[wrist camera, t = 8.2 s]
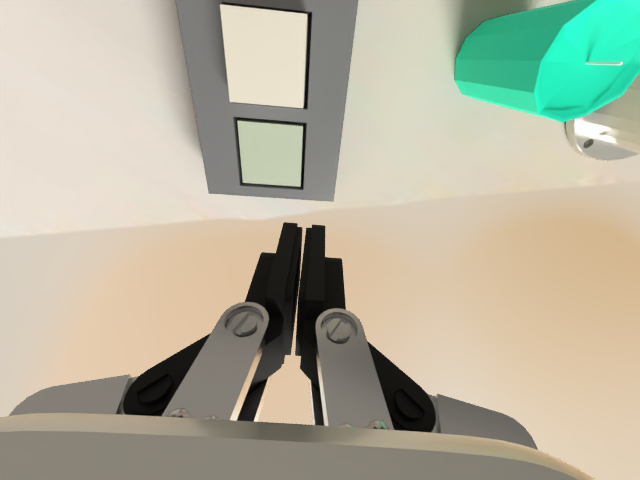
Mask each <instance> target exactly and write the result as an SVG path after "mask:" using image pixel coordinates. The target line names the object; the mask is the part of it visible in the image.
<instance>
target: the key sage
mask: <svg viewBox="0 0 640 480" xmlns="http://www.w3.org/2000/svg"><path fill="white" fill-rule="evenodd" d="M237 123H238V134H239V146H240V157H241V168H242V179H243V183H254V184H268V185H283V186H297V187H300V186H301V177H302V157H303V134H304V123H302V122H290V121H278V120H266V119H254V118H242V117H241V118H240V119H239V120H238V121H237Z"/></svg>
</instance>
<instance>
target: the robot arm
mask: <svg viewBox="0 0 640 480" xmlns="http://www.w3.org/2000/svg"><path fill="white" fill-rule="evenodd" d="M566 133H567V138H568V140H569V142H570V144H571V146H572V147H573V148H574V149H575V150H576V151H577V152H578V153H580V154H582V155H584V156H586V157H589V158H593V159H596V160H602V161H613V160H621V159H625V158H629V157H633V156H635V155H638V154H640V73H639V74H638V75H637V77H636V78H635V79H634V81H633V82H632V83H631V85H630V86H629V87H628V88H627V90H626V91H625V92H624V94H623V95H622V96H620V97H619V98H617V99H615V100H613V101H611V102H610V103H608V104H606V105H604V106H602V107H601V108H599V109H597V110H595V111H593V112H592V113H590V114H588V115H585V116H582V117H579V118H575V119H572V120H569V121H566ZM301 245H302V227H297V223H284V224H283V228H282V231H281V236H280V239H279V243H278V247H277V251H276V253H263V252H262V253H261V255H260V258H259V261H258V264H257V267H256V270H255V273H254V276H253V279H252V282H251V285H250V288H249V291H248V294H247V297H246V300H245V302H243V303H238V304H236V305H233V306H231V307H230V308H229V309H227V310H226V311H225V312H224V314H223V315H222V316H221V317H220V319H219V321H218V322H217V324H216V326H215V328H214V329H213V331H212V332H211V333H210V334H209V335H207V336H205V337H203V338H202V339H200V340H198V341H197V342H195V343H193V344H191V345H190V346H188V347H186V348H184V349H183V350H181V351H179V352H178V353H176V354H174V355H173V356H171V357H169V358H167V359H166V360H164V361H162V362H161V363H159V364H157V365H155V366H154V367H152V368H150V369H148V370H147V371H146V372H144V373H143V374H141V375H140V376H139V377H133V378H132V377H131V376H130V375H124V376H117V377H111V378H105V379H98V380H92V381H85V382H79V383H73V384H66V385H60V386H53V387H50V388H46V389H43V390H40V391H39V392H37V393H35V394H33V395H31V396H29V397H28V398H26V399H25V400H24V401H23V402H21V403H20V404H19V405H18V406H16V408H15V409H14V410H13V411H12V412H11V414H10V415H9V416H7V417H1V418H0V480H596V479H595V478H593V477H591V476H590V475H588V474H587V473H585V472H583V471H582V470H580V469H578V468H576V467H574V466H572V465H570V464H568V463H566V462H564V461H563V460H561V459H559V458H556V457H554V456H551V455H549V454H547V453H544V452H542V451H539V450H538V449H537V447H536V444H535V443H534V441H533V438H532V437H531V435H530V434H529V433H528V432H527V430H526V429H525V428H524V427H523V426H522V425H521V424H520V423H518V422H517V421H516V420H515V419H513V418H511V417H509V416H507V415H505V414H502V413H499V412H496V411H492V410H489V409H486V408H483V407H479V406H475V405H473V404H469V403H466V402H463V401H459V400H456V399H453V398H449V397H446V396H443V395H440V394H437V395H436V396H432V395H428V394H427V393H426V392H425V391H424V390H423V389H422V388H421V387H420V386H419V385H418V384H416V383H415V382H414V381H413V380H412V379H411V378H410V377H408V376H407V375H406V374H405V373H404V372H403V371H401V370H400V369H399V368H398V367H397V366H396V365H394V364H393V363H392V362H391V361H390V360H389V359H387V358H386V357H385V356H384V355H383V354H382V353H380V352H379V351H378V350H377V349H376V348H375V347H373V346H372V345H371V344H370V343H369V342H368V341H367V339H366V336H365V333H364V329H363V326H362V324H361V322H360V320H359V319H358V318H357V317H356V316H355V315H354V314H353V313H351V312H350V311H347V310H346V307H345V294H344V281H343V268H342V267H343V266H342V259H340V258H327V257H325V226H322V225H312V228H306V236H305V244H304V253H303V262H302V270H301V278H300V264H301ZM299 281H300V287H299ZM298 290H299V296H298ZM297 298H298V311H297V312H298V313H297V332H296V351H295V355H296V356H301V365H300V369H301V370H302V371H303V372H304V373H305V374H306V376H307V377H308V378H309V386H310V398H311V409H312V420H313V425H302V424H284V423H268V422H257V421H258V418H259V415H260V412H261V409H262V406H263V402H264V399H265V396H266V393H267V390H268V387H269V384H270V380H271V375H272V374H273V373H275V372H276V371H277V370H278V369H280V368H281V366H282V364H284V357H285V355H291V347H292V340H293V331H294V323H295V314H296V305H297Z"/></svg>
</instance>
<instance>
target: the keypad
mask: <svg viewBox="0 0 640 480" xmlns="http://www.w3.org/2000/svg"><path fill="white" fill-rule="evenodd" d="M220 4H222V5H231V6H240V7H249V8H258V9H267V10H276V11H285V12H294V13H303V14H307V16H308V33H307V56H306V79H305V102H304V107H303V108H293V107H282V106H271V105H259V104H248V103H236V102H230V100H229V90H228V80H227V70H226V60H225V50H224V41H223V31H222V21H221V11H220ZM176 6H177V12H178V17H179V23H180V29H181V35H182V41H183V46H184V52H185V58H186V64H187V70H188V75H189V81H190V87H191V93H192V98H193V104H194V110H195V116H196V122H197V127H198V133H199V139H200V145H201V151H202V156H203V162H204V168H205V174H206V180H207V185H208V191H209V193H210V194H226V195H241V196H256V197H271V198H286V199H301V200H317V201H332V202H333V201H334V193H335V185H336V177H337V168H338V160H339V152H340V144H341V136H342V128H343V120H344V112H345V103H346V95H347V87H348V79H349V71H350V63H351V55H352V47H353V39H354V30H355V22H356V14H357V6H358V0H176ZM241 117H242V118H254V119H266V120H278V121H290V122H302V123H304V134H303V157H302V177H301V186H300V187H297V186H283V185H268V184H254V183H243V179H242V168H241V157H240V146H239V134H238V123H237V121H238V120H239V119H240V118H241Z"/></svg>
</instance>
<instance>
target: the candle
mask: <svg viewBox="0 0 640 480" xmlns="http://www.w3.org/2000/svg"><path fill="white" fill-rule="evenodd" d="M639 73H640V0H573V1H568V2H564V3H559V4H555V5H550V6H545V7H541V8H536V9H532V10H527V11H522V12H518V13H513V14H509V15H504V16H501V17H497V18H494V19H490V20H487V21H484V22H482V23H481V24H480V25H479V26H478V27H477V28H476V29H475V30H474V31H473V32H472V33H471V34H469V35H468V36H467V37H466V39H465V41H464V43H463V45H462V47H461V49H460V51H459V53H458V55H457V57H456V59H455V76H454V80H455V82H456V84H457V86H458V87H459V89H460V91H461V93H462V94H463V95H466V96H469V97H471V98H474V99H477V100H480V101H484V102H488V103H492V104H496V105H499V106H503V107H507V108H511V109H515V110H518V111H522V112H526V113H530V114H534V115H537V116H541V117H545V118H549V119H552V120H556V121H560V122H565V121H569V120H572V119H575V118H579V117H582V116H585V115H588V114H590V113H592V112H593V111H595V110H597V109H599V108H601V107H602V106H604V105H606V104H608V103H610V102H611V101H613V100H615V99H617V98H619V97H620V96H622V95H623V94H624V92H625V91H626V90H627V88H628V87H629V86H630V85H631V83H632V82H633V81H634V79H635V78H636V77H637V75H638V74H639Z"/></svg>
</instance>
